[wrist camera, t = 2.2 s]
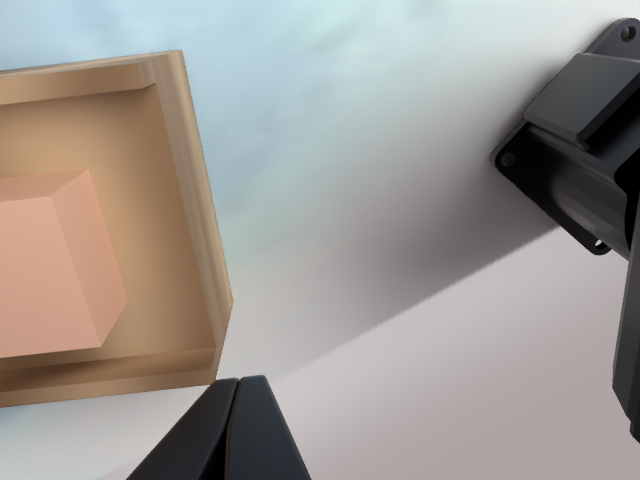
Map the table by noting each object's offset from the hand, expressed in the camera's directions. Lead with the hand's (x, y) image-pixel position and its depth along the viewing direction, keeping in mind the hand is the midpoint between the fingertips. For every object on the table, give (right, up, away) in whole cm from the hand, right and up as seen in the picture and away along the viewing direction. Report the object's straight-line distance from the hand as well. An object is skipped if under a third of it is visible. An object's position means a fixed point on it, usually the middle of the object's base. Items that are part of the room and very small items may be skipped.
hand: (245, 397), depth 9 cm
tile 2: (-8, +2, +7) cm, 11 cm away
